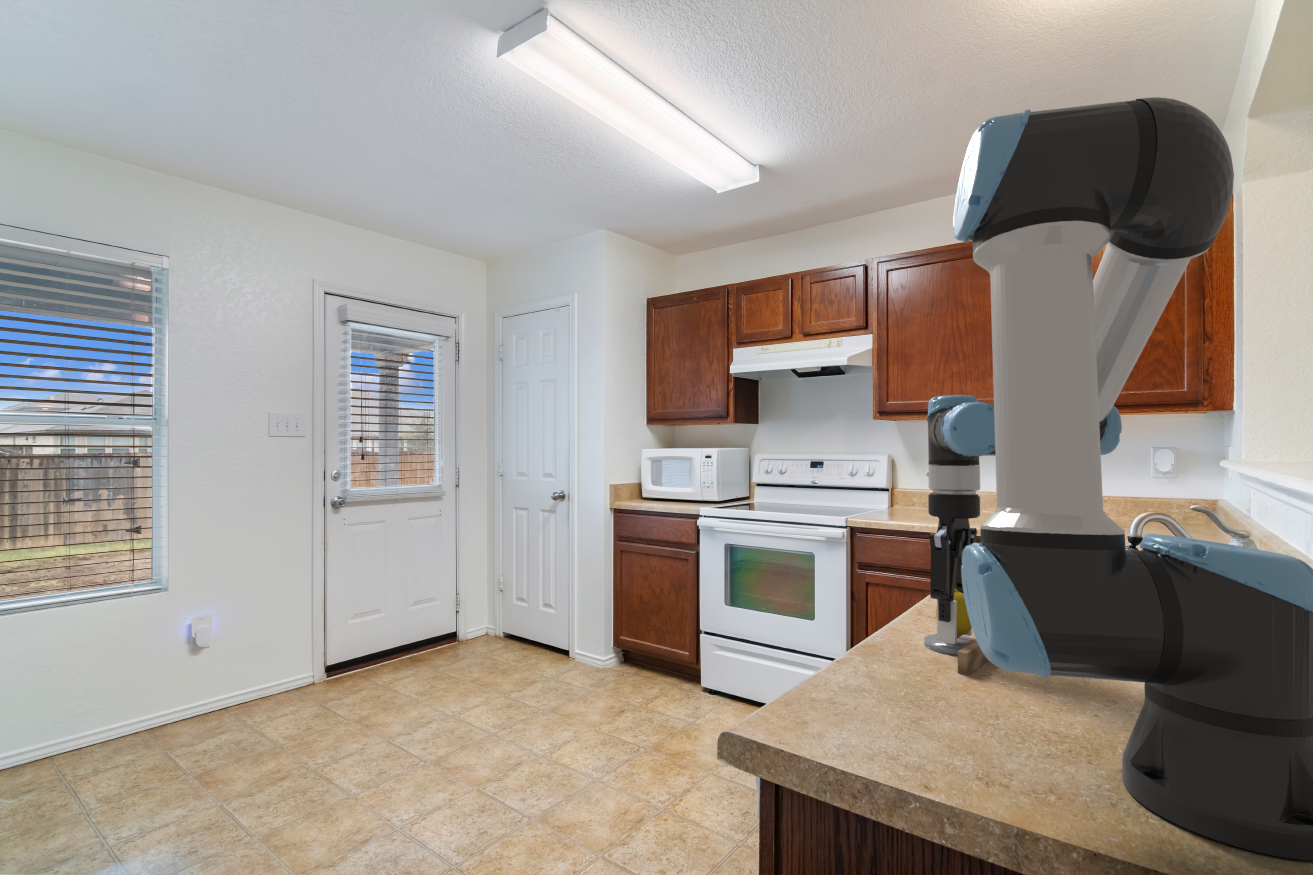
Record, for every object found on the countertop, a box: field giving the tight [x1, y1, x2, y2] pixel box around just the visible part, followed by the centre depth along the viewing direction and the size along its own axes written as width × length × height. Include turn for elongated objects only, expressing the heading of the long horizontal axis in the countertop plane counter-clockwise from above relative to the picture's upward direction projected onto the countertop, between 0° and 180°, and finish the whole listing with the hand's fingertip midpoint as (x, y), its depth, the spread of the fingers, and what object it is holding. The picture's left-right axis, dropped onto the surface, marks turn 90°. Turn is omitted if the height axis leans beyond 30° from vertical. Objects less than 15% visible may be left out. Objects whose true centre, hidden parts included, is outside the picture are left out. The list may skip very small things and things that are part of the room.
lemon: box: [935, 589, 972, 639], centre depth 101 cm, size 6×6×8 cm
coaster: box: [923, 633, 977, 656], centre depth 101 cm, size 9×9×1 cm
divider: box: [957, 641, 990, 676], centre depth 95 cm, size 18×1×3 cm, turn 134°
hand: (954, 637), depth 101 cm, fingers closed on lemon, 5 cm apart
